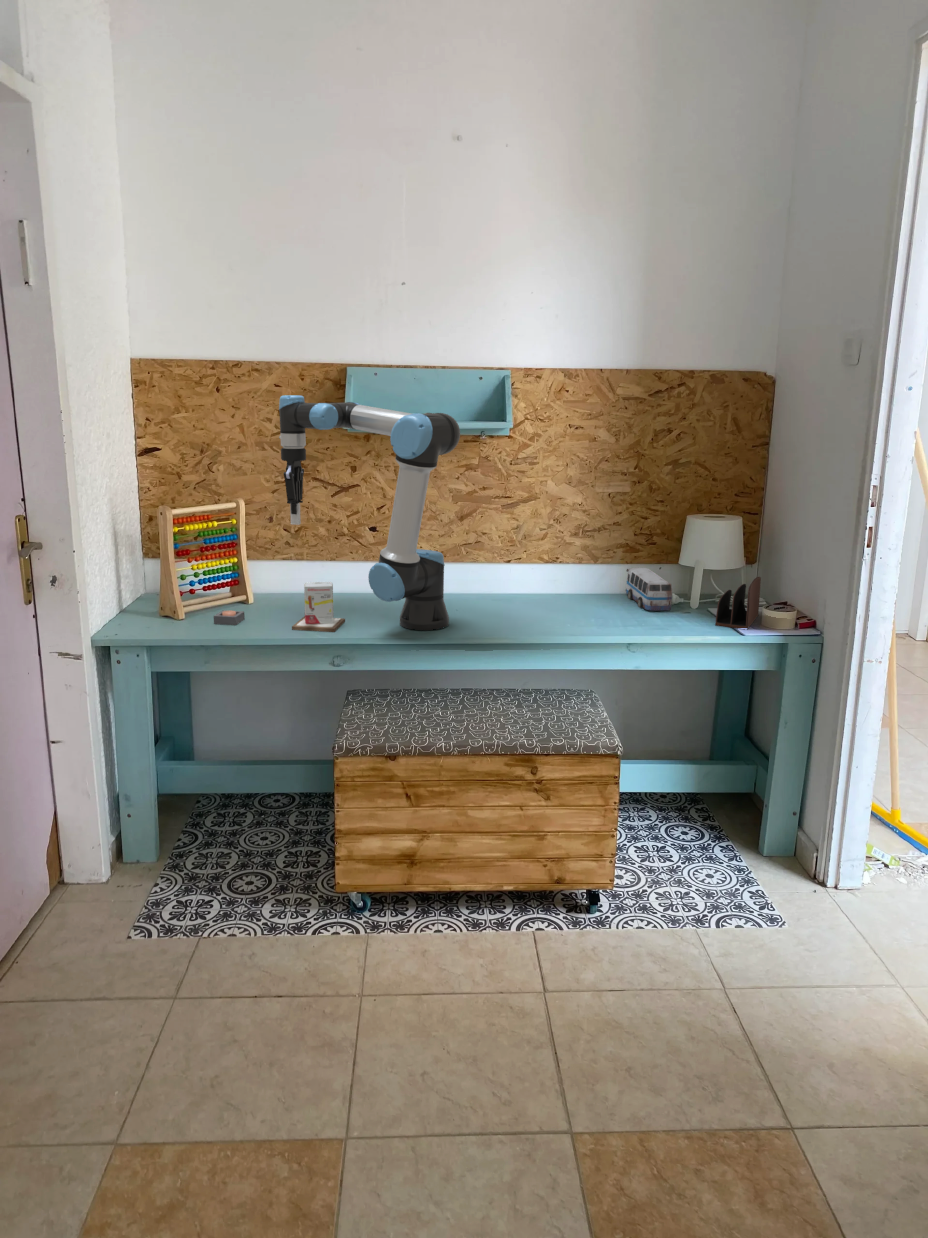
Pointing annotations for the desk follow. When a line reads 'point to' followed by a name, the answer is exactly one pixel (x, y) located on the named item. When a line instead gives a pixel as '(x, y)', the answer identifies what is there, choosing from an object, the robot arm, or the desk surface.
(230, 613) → the button
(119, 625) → the desk surface
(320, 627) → the board
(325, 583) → the ink box
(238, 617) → the button base
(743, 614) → the letter holder
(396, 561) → the robot arm
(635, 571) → the toy bus
